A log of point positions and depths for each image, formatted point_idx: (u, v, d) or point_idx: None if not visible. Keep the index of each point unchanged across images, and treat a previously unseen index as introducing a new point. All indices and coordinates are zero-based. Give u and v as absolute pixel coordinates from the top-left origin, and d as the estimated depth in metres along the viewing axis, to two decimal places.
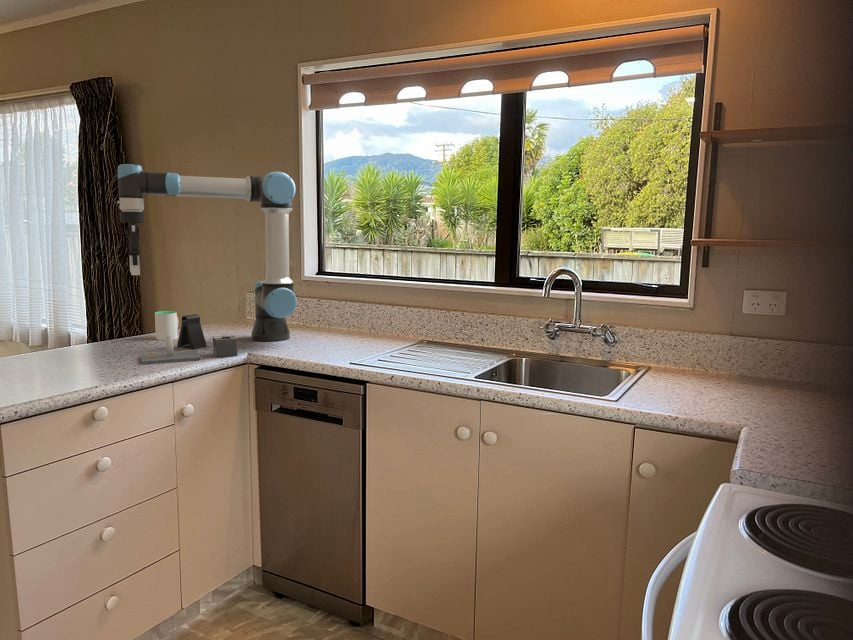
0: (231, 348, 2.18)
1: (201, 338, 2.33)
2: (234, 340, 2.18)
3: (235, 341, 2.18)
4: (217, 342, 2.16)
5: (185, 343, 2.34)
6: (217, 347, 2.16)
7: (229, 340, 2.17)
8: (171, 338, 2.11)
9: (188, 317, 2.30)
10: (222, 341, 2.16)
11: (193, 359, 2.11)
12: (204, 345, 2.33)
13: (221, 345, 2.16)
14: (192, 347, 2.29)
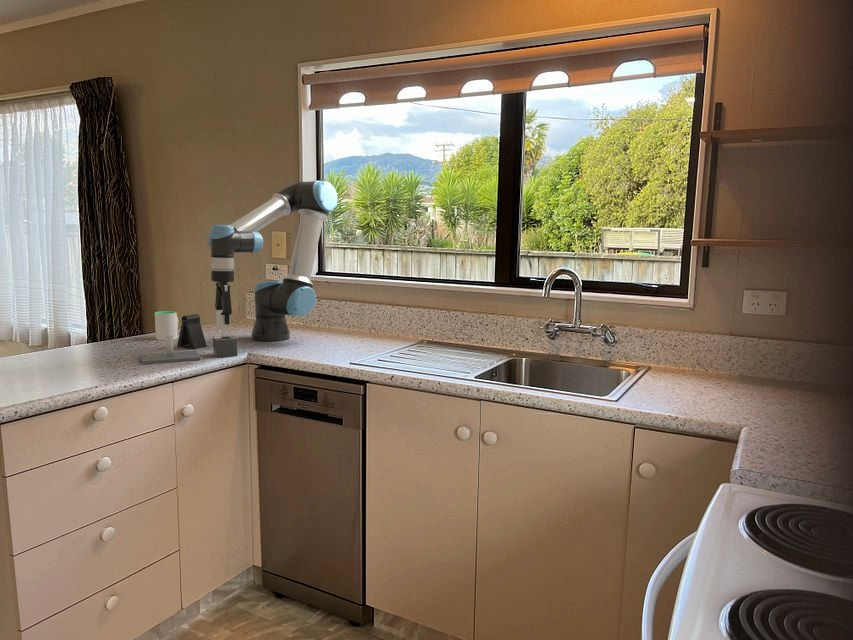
0: (231, 348, 2.18)
1: (201, 338, 2.33)
2: (234, 340, 2.18)
3: (235, 341, 2.18)
4: (217, 342, 2.16)
5: (185, 343, 2.34)
6: (217, 347, 2.16)
7: (229, 340, 2.17)
8: (171, 338, 2.11)
9: (188, 317, 2.30)
10: (222, 341, 2.16)
11: (193, 359, 2.11)
12: (204, 345, 2.33)
13: (221, 345, 2.16)
14: (192, 347, 2.29)
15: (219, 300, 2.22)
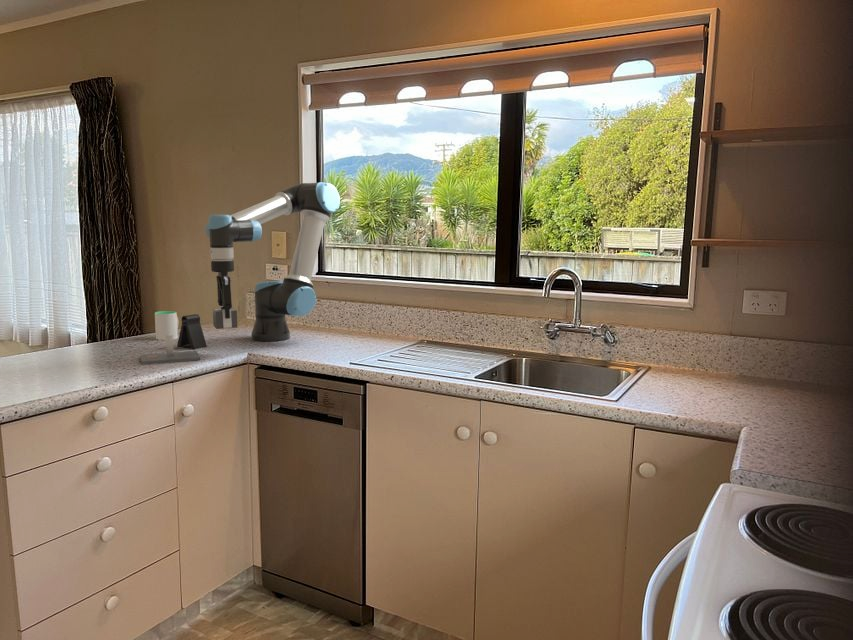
0: None
1: (201, 338, 2.33)
2: (234, 312, 2.17)
3: (235, 312, 2.17)
4: (217, 313, 2.15)
5: (185, 343, 2.34)
6: (217, 319, 2.15)
7: None
8: (171, 338, 2.11)
9: (188, 317, 2.30)
10: (222, 312, 2.15)
11: (193, 359, 2.11)
12: (204, 345, 2.33)
13: (221, 317, 2.15)
14: (192, 347, 2.29)
15: (221, 293, 2.20)
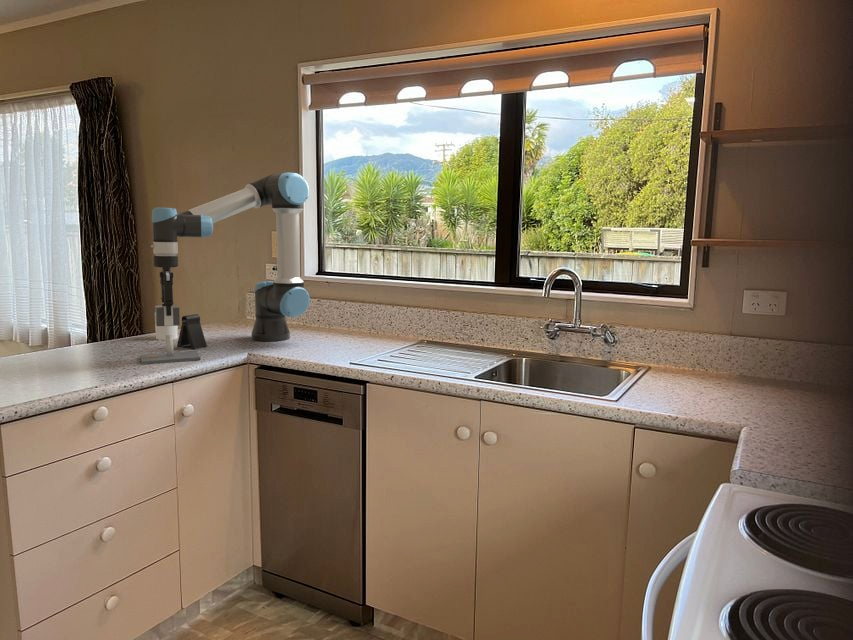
0: (173, 317, 2.08)
1: (201, 338, 2.33)
2: (176, 309, 2.08)
3: (177, 309, 2.08)
4: (158, 310, 2.06)
5: (185, 343, 2.34)
6: (158, 315, 2.06)
7: None
8: (171, 338, 2.11)
9: (188, 317, 2.30)
10: (163, 309, 2.07)
11: (193, 359, 2.11)
12: (204, 345, 2.33)
13: (162, 313, 2.07)
14: (192, 347, 2.29)
15: (164, 289, 2.12)
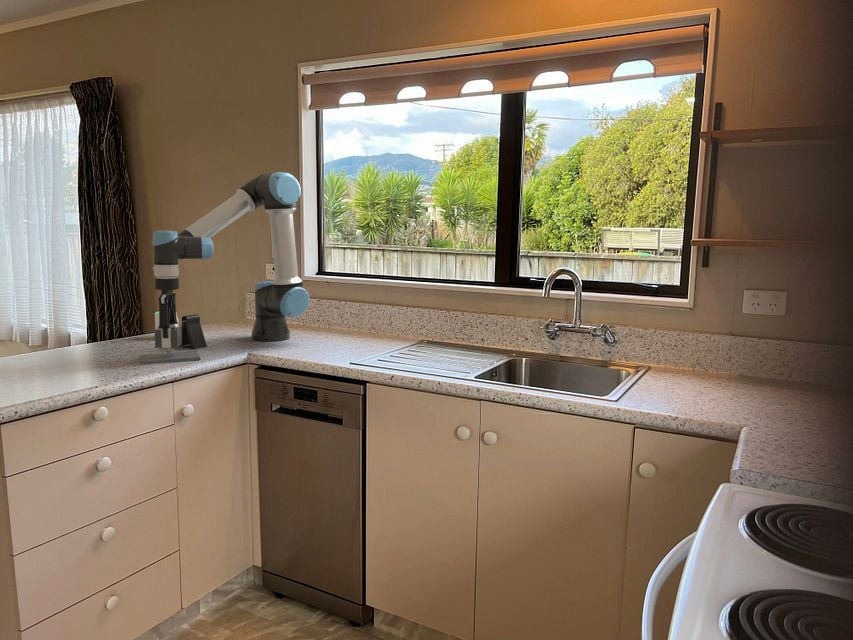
0: (171, 339, 2.09)
1: (201, 338, 2.33)
2: (174, 331, 2.08)
3: (175, 332, 2.09)
4: (156, 332, 2.08)
5: (185, 343, 2.34)
6: (156, 337, 2.08)
7: None
8: None
9: (188, 317, 2.30)
10: None
11: (193, 359, 2.11)
12: (204, 345, 2.33)
13: (160, 335, 2.08)
14: (192, 347, 2.29)
15: None
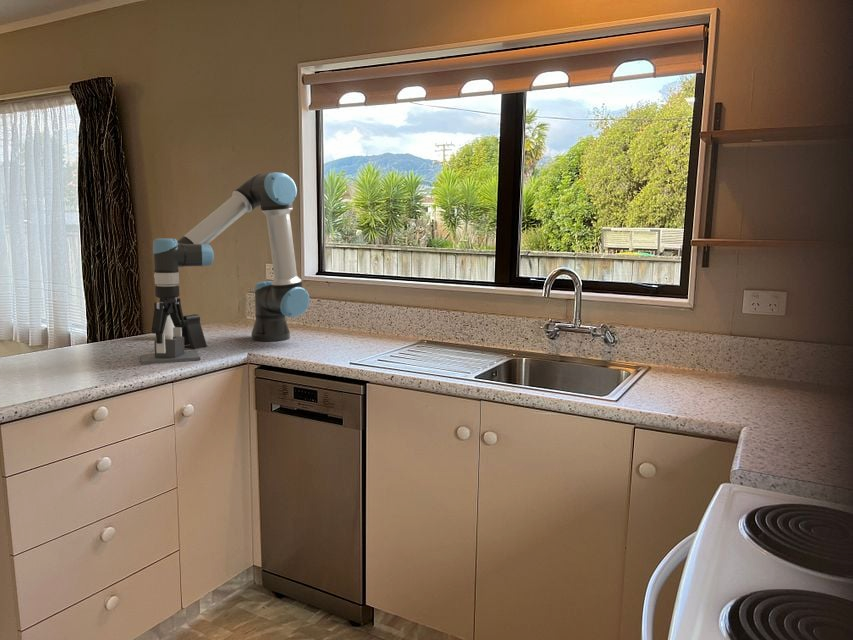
0: (169, 349, 2.09)
1: (201, 338, 2.33)
2: (172, 341, 2.09)
3: (173, 342, 2.09)
4: (155, 341, 2.09)
5: (185, 343, 2.34)
6: (155, 346, 2.09)
7: (167, 340, 2.09)
8: (171, 338, 2.11)
9: (188, 317, 2.30)
10: None
11: (193, 359, 2.11)
12: (204, 345, 2.33)
13: None
14: (192, 347, 2.29)
15: (172, 316, 2.15)
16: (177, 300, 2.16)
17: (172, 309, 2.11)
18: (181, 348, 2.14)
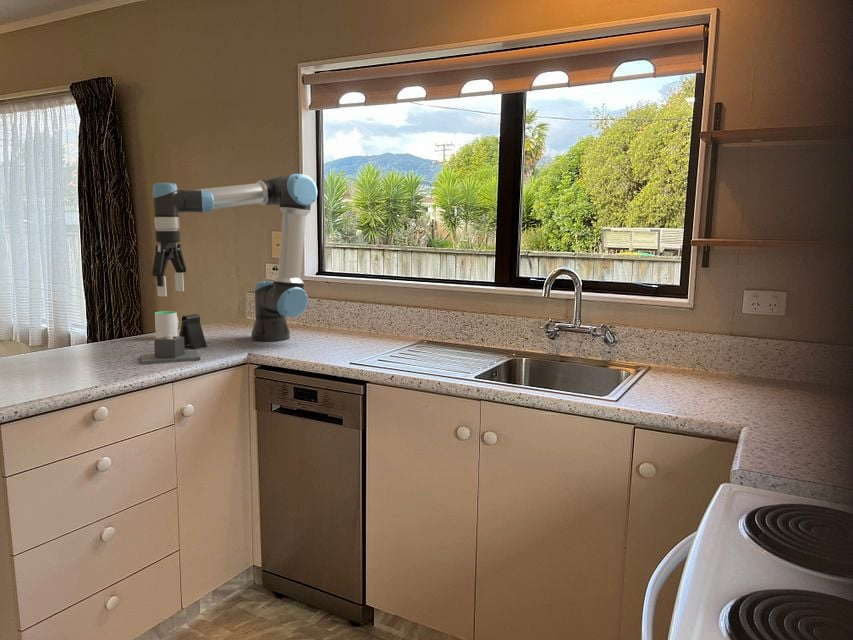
0: (169, 349, 2.09)
1: (201, 338, 2.33)
2: (172, 341, 2.09)
3: (173, 342, 2.09)
4: (155, 341, 2.09)
5: (185, 343, 2.34)
6: (155, 346, 2.09)
7: (167, 340, 2.09)
8: (171, 338, 2.11)
9: (188, 317, 2.30)
10: (160, 341, 2.09)
11: (193, 359, 2.11)
12: (204, 345, 2.33)
13: (159, 345, 2.09)
14: (192, 347, 2.29)
15: (173, 262, 2.16)
16: (177, 246, 2.16)
17: (173, 255, 2.12)
18: (181, 348, 2.14)
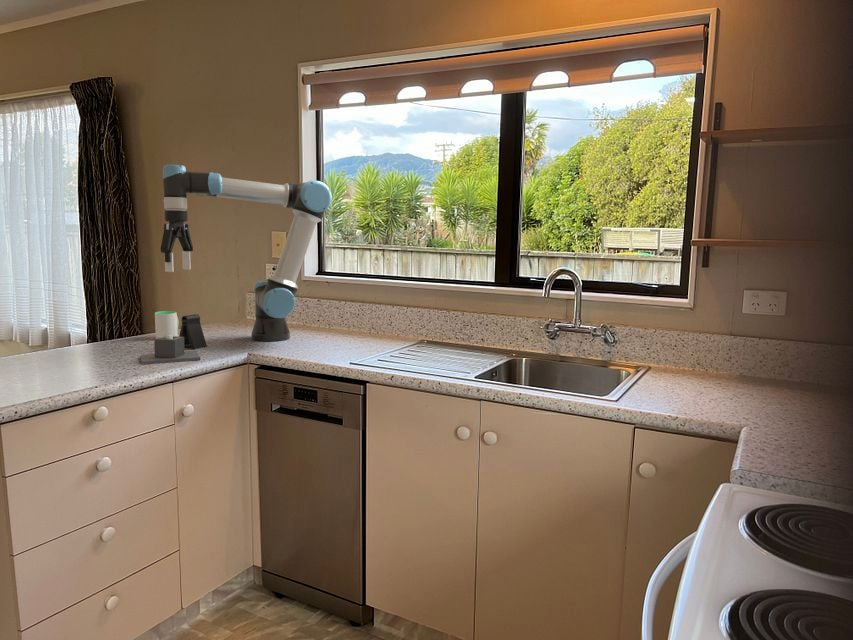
0: (169, 349, 2.09)
1: (201, 338, 2.33)
2: (172, 341, 2.09)
3: (173, 342, 2.09)
4: (155, 341, 2.09)
5: (185, 343, 2.34)
6: (155, 346, 2.09)
7: (167, 340, 2.09)
8: (171, 338, 2.11)
9: (188, 317, 2.30)
10: (160, 341, 2.09)
11: (193, 359, 2.11)
12: (204, 345, 2.33)
13: (159, 345, 2.09)
14: (192, 347, 2.29)
15: (181, 241, 2.27)
16: (185, 226, 2.27)
17: (181, 233, 2.23)
18: (181, 348, 2.14)
